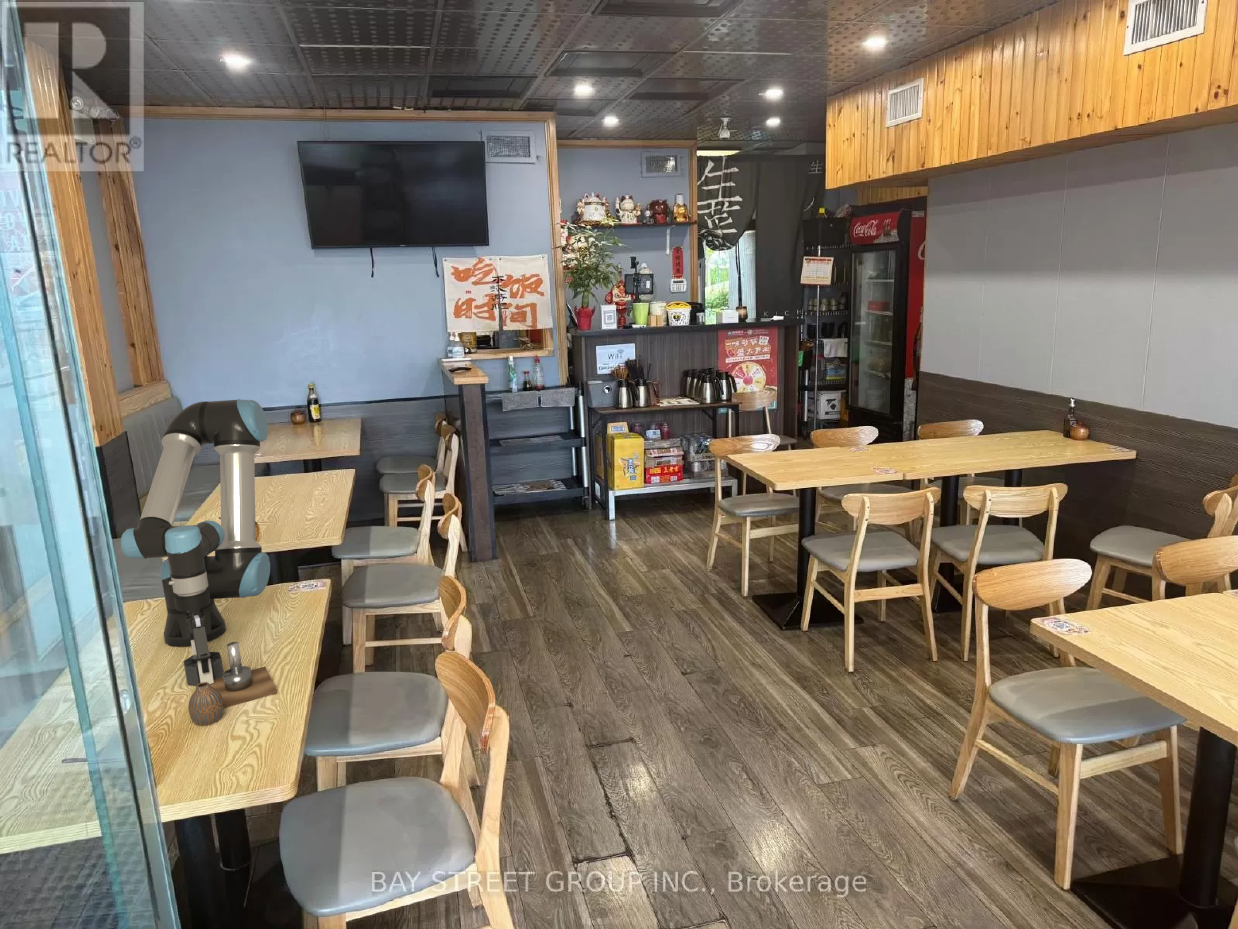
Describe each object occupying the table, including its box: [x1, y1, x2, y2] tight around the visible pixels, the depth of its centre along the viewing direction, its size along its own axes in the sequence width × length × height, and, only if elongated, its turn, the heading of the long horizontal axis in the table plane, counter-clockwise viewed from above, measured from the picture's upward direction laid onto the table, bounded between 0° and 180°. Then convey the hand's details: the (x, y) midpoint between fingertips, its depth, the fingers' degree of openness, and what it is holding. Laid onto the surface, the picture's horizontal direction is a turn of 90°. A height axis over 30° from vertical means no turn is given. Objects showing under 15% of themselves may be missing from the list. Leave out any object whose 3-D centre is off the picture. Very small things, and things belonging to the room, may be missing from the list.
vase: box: [188, 682, 225, 726], centre depth 182 cm, size 7×7×9 cm
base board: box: [210, 666, 278, 709], centre depth 196 cm, size 14×14×1 cm
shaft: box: [223, 641, 253, 692], centre depth 195 cm, size 6×6×10 cm
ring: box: [182, 651, 225, 687], centre depth 203 cm, size 8×8×5 cm
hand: (203, 673), depth 202 cm, fingers open, 13 cm apart
